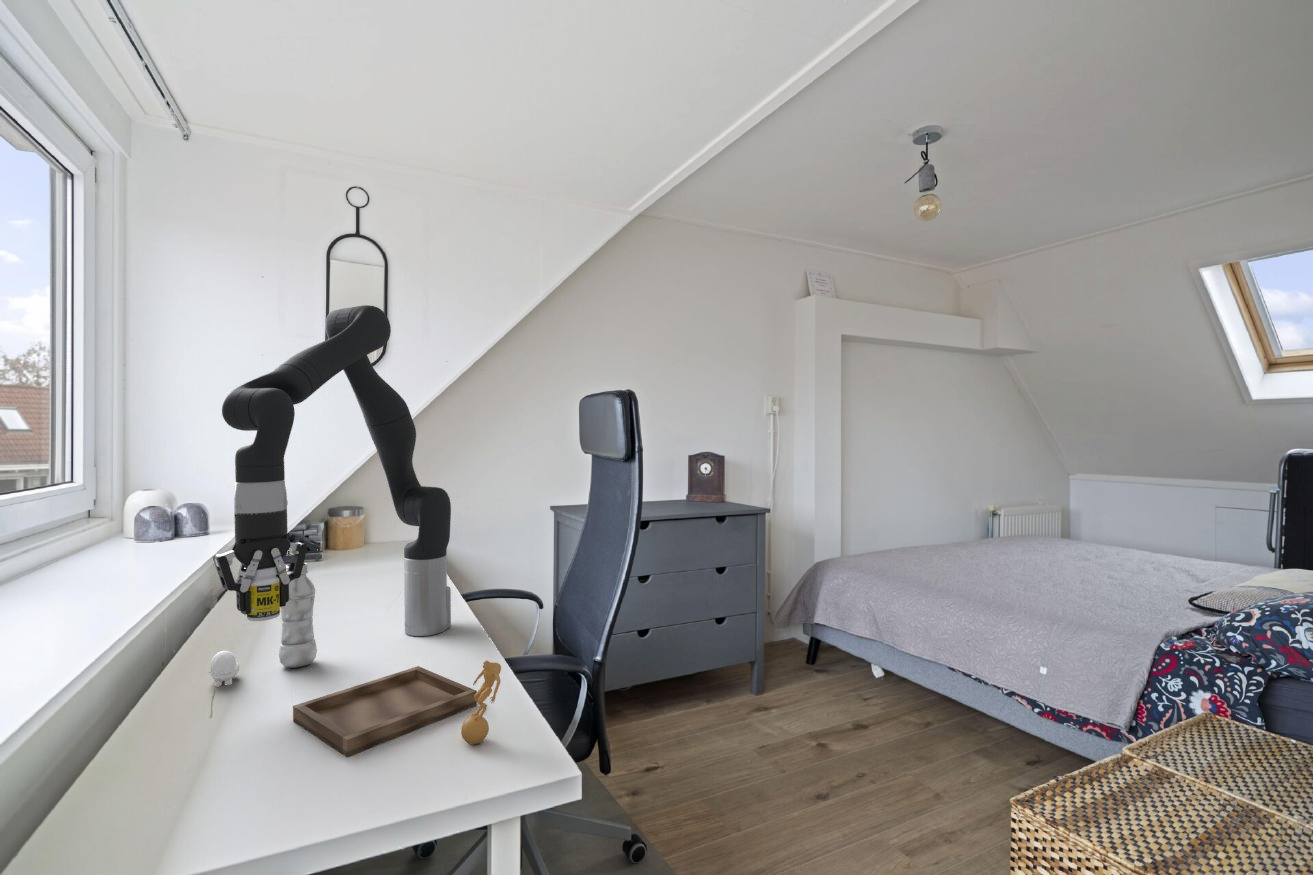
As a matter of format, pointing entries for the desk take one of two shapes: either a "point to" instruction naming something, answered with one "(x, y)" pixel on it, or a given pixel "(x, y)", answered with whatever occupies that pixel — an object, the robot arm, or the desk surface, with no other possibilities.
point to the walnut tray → (382, 709)
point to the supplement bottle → (264, 595)
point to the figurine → (481, 705)
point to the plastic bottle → (298, 623)
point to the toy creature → (224, 668)
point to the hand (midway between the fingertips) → (263, 609)
